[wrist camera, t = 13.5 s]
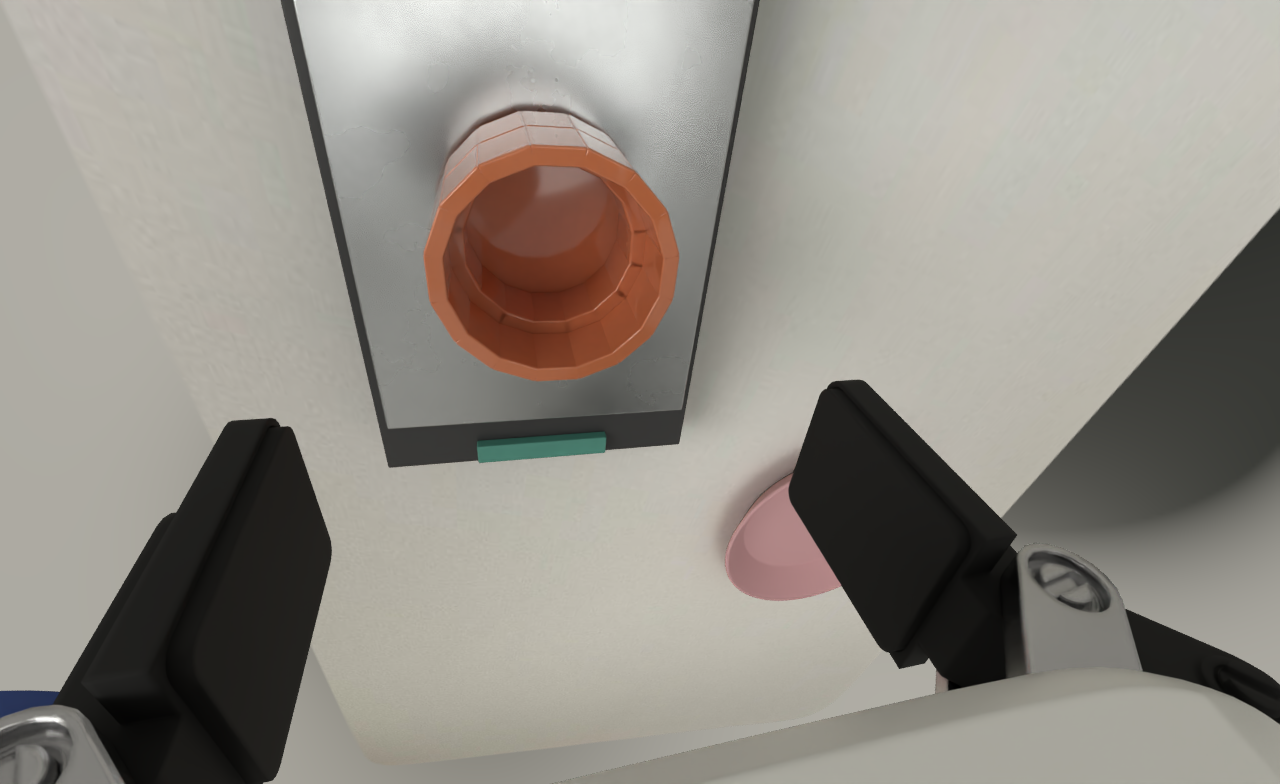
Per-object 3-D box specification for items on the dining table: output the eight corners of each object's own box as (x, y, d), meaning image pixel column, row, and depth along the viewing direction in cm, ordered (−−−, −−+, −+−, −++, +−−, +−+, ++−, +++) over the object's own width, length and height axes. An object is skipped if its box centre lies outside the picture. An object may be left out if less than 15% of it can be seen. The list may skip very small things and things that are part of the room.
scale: (394, 434, 27) (386, 480, 25) (232, -329, 13) (175, -399, 11) (667, 415, 31) (683, 454, 28) (767, -211, 17) (817, -244, 14)
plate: (674, 544, 38) (682, 569, 36) (838, 404, 33) (856, 425, 32) (793, 596, 45) (804, 618, 44) (939, 488, 41) (957, 508, 39)
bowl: (448, 309, 21) (440, 386, 17) (423, 99, 17) (406, 138, 13) (631, 305, 22) (663, 375, 18) (649, 114, 18) (695, 152, 14)
